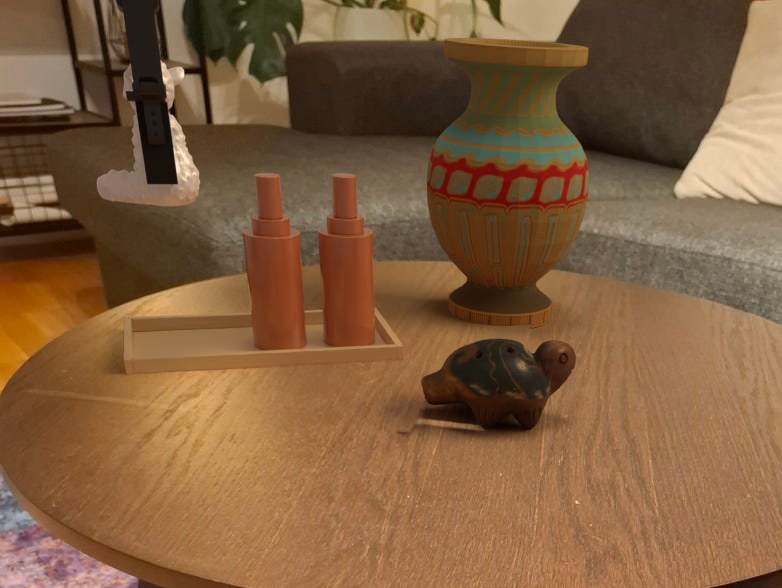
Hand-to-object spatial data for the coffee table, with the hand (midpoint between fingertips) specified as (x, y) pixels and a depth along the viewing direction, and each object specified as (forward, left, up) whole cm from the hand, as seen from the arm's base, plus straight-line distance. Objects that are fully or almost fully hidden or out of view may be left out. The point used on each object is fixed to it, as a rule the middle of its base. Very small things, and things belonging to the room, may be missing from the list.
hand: (161, 175), depth 86 cm
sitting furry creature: (0, +1, -2) cm, 3 cm away
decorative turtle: (+34, -3, -19) cm, 39 cm away
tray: (+5, +9, -19) cm, 22 cm away
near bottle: (+7, +10, -18) cm, 22 cm away
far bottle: (+14, +13, -18) cm, 27 cm away
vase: (+29, +32, -19) cm, 47 cm away
